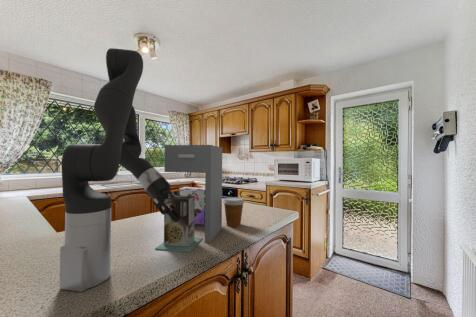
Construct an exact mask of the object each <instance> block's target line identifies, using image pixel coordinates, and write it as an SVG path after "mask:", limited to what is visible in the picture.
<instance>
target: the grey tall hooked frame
mask: <svg viewBox="0 0 476 317" xmlns="http://www.w3.org/2000/svg"><path fill="white" fill-rule="evenodd" d="M164 173H198V174H199V173H205V179H204V180H205V181H204V182H205V183H204V184H205V187H204V188H205V225H204V243H207V244H208V243H209V244H211V242H212V241H213V240H214V239H215V238H216V236H217V235H218V234H219V232H220V231H222V229H223V227H222V226H223V225H222V224H223V221H222V220H223V219H222V218H223V215H222V214H223V209H222V208H223V147H221V146H216V145H213V144H165V145H164Z"/></svg>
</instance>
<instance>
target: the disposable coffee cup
mask: <svg viewBox="0 0 476 317" xmlns="http://www.w3.org/2000/svg"><path fill="white" fill-rule="evenodd" d="M222 203H223V205H224V214H225V222H226V226H227V227H229V228H238V227H240V226H241V224H242V223H241V222H242V215H243V208H244V204H245V201H244V198H242V197H239V196H229V197H225V198H223V200H222Z"/></svg>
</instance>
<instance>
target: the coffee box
mask: <svg viewBox="0 0 476 317" xmlns="http://www.w3.org/2000/svg"><path fill="white" fill-rule="evenodd" d="M169 201H170V202H171V203H172V208H173V210H174V211H175V212H176V213H177V214H178V215H179V216H180V220H179V221H178V222H174V221H173V219H172V218H171V217H170V216H169V215H167V214H164V215H163V242H164V246H188V247H189V246H190V245H191V244H192V243H193V241H194V237H195V224H194V196H171V198H169V199H168V198H166V199H165V201H164V203H165V204H166V205H167V204H168V202H169ZM168 208H169V207H168Z"/></svg>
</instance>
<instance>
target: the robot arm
mask: <svg viewBox="0 0 476 317" xmlns="http://www.w3.org/2000/svg"><path fill="white" fill-rule="evenodd" d="M105 62H106V70H107V71H106V72H107V76H108V82H107V83H106V84H104V85H103V86H102V87H101V88H100V90H98V94H97V96H96V98H95V101H94V105H93V109H94V114H95V116H96V118H97V120H98V122H99V123H100V124H101V126H102V128H103V130H104V132H105V137H104V138H105V139H104V141H103V142H102V143H99V144H98V143H73V144H69V145H68V146H66V148H65V149H64V151H63V153H62V157H61V183H62V184H61V185H62V199H63V203H64V208H65V209H64V211H65V213H64V215H65V216H64V220H65V221H64V244H63V245H62V246H61V247H60V249H59V252H60V253H59V289H60V290H67V291H73V292H81V293H82V292H84V291H86V290H88V289H90V288H93V287H96V286H98V285H100V284H102V283H105V281H107V280H108V279H109V278H110V276H111V261H112V260H111V258H112V257H111V255H112V254H111V253H112V250H111V248H112V242H111V240H112V198H111V196H110V195H109V194H106V193H102V192H100V191H97V190H95V189H94V188H92V187H91V185H90V184H89V182H109V181H112V180H113V179H115V177H116V176H117V174H118V171H119V167H120V166H121V167H123V168H124V169H125V170H127V171H128V172H130V173H131V174H132V175H133V177H134V178H135V179H136V180H137V181H138V182H139V184H140V185H141V187H142V188H143V189H144V190H145V192H146V193H147V194H148V195H149V196H150V197H151V198H152V203H153V205H154V206H155V207H156V209H157V210H158V211H159V212H160V214H161V215H163V216H164V214H167V215H169V216H170V217H171V218H172V219H173V221H174V222H178V221H179V220H180V216H179V215H178V214H177V213H176V212H175V211H174V210H173V208H172V203H171V202H170V201H169V202H168V204H167V205H166V204H165V203H164V201H165V199H166V198H168V199H169V198H171V196H181V195H180V194H179V191H177V190H174V191H171V188H172V184H170V183H169V182H168V181H167V179H166V178H165V177H164V176H163V174H161V172H160V171H158V170H157V169H156V168H155V167H154V165H152V164H151V162H150V161H149V160H148V159H146V158H143V157H141V154H142V144H141V141H140V136H139V134H138V132H137V131H138V130H137V113H136V109H135V107H134V106H133V101H134V98H135V94H136V90H137V87H138V85H139V82H140V80H141V78H142V76H143V72H144V59H143V57H142V55H141V53H140V52H138V51H136V50H133V49H128V48H127V49H126V48H114V47H110V48H108V49H107V51H106V54H105ZM168 207H169V208H168Z"/></svg>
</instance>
